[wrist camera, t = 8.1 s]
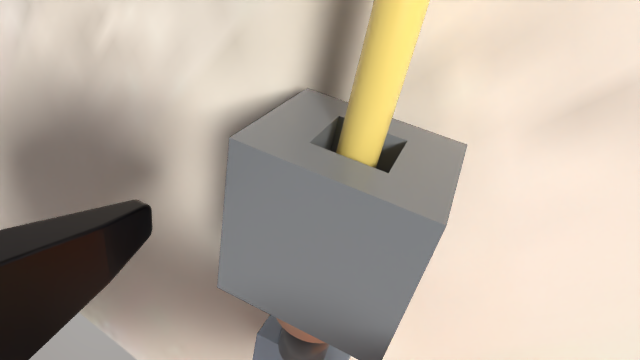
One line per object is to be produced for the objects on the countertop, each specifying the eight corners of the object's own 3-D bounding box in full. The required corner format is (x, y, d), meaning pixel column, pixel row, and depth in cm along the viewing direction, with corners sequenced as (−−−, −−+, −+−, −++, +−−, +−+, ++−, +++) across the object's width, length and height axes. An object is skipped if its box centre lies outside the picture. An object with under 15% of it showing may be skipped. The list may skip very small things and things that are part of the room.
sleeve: (410, 269, 14) (377, 369, 11) (283, 213, 15) (217, 287, 12) (467, 144, 11) (446, 225, 8) (307, 88, 12) (229, 138, 9)
